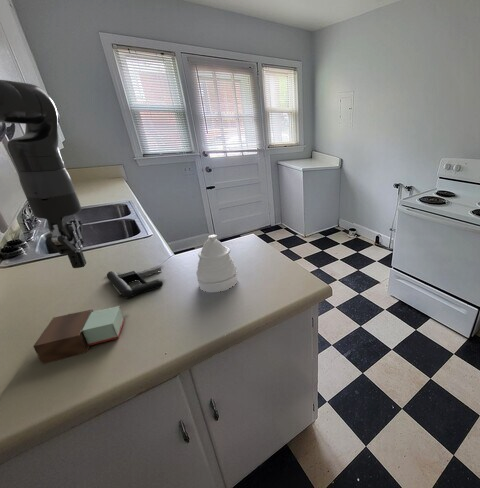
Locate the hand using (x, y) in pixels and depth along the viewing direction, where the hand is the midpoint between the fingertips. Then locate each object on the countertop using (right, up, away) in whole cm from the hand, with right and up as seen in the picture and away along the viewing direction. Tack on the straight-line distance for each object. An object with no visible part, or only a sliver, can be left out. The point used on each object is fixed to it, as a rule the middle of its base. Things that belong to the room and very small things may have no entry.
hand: (80, 266), depth 62 cm
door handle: (-8, -8, +32) cm, 34 cm away
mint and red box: (0, -13, +6) cm, 15 cm away
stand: (-6, -20, +5) cm, 21 cm away
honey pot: (+20, -8, +32) cm, 38 cm away
